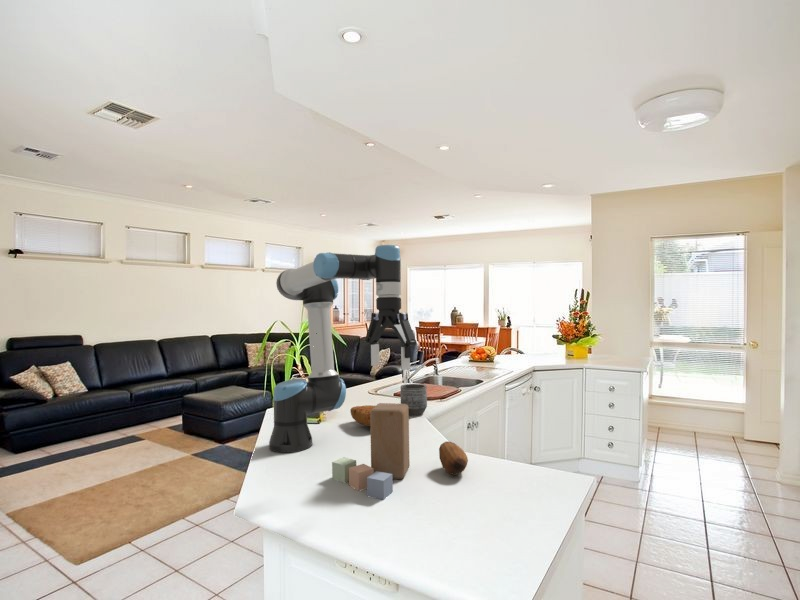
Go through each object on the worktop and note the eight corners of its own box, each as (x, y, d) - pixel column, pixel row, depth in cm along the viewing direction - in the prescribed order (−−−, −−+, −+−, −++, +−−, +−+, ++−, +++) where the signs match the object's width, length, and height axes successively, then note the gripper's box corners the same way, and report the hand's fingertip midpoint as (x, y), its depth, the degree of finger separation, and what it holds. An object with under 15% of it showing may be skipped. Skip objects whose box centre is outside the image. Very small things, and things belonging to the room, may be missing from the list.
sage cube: (332, 479, 130) (332, 461, 130) (344, 473, 134) (344, 457, 134) (344, 483, 127) (344, 465, 127) (356, 477, 131) (356, 460, 131)
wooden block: (404, 480, 128) (402, 410, 128) (370, 478, 130) (369, 409, 130) (410, 467, 137) (409, 403, 138) (378, 466, 139) (377, 402, 140)
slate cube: (367, 496, 118) (366, 477, 118) (376, 489, 122) (376, 471, 122) (383, 500, 115) (383, 480, 115) (392, 492, 120) (392, 474, 120)
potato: (463, 488, 129) (442, 477, 126) (448, 462, 142) (429, 451, 139) (478, 468, 128) (458, 456, 126) (462, 443, 141) (443, 432, 139)
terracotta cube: (349, 485, 125) (348, 467, 125) (363, 481, 128) (363, 463, 128) (358, 491, 121) (358, 472, 121) (373, 486, 124) (373, 468, 124)
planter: (427, 416, 199) (427, 388, 199) (400, 417, 199) (400, 388, 200) (426, 410, 211) (426, 383, 212) (400, 410, 212) (400, 383, 212)
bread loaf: (405, 429, 181) (404, 409, 181) (365, 435, 173) (365, 414, 173) (383, 417, 200) (383, 399, 201) (347, 422, 193) (347, 403, 193)
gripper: (353, 297, 141) (354, 365, 140) (408, 295, 122) (410, 372, 122) (371, 297, 146) (372, 362, 145) (427, 295, 128) (428, 369, 127)
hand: (390, 367), depth 134 cm, fingers open, 13 cm apart
